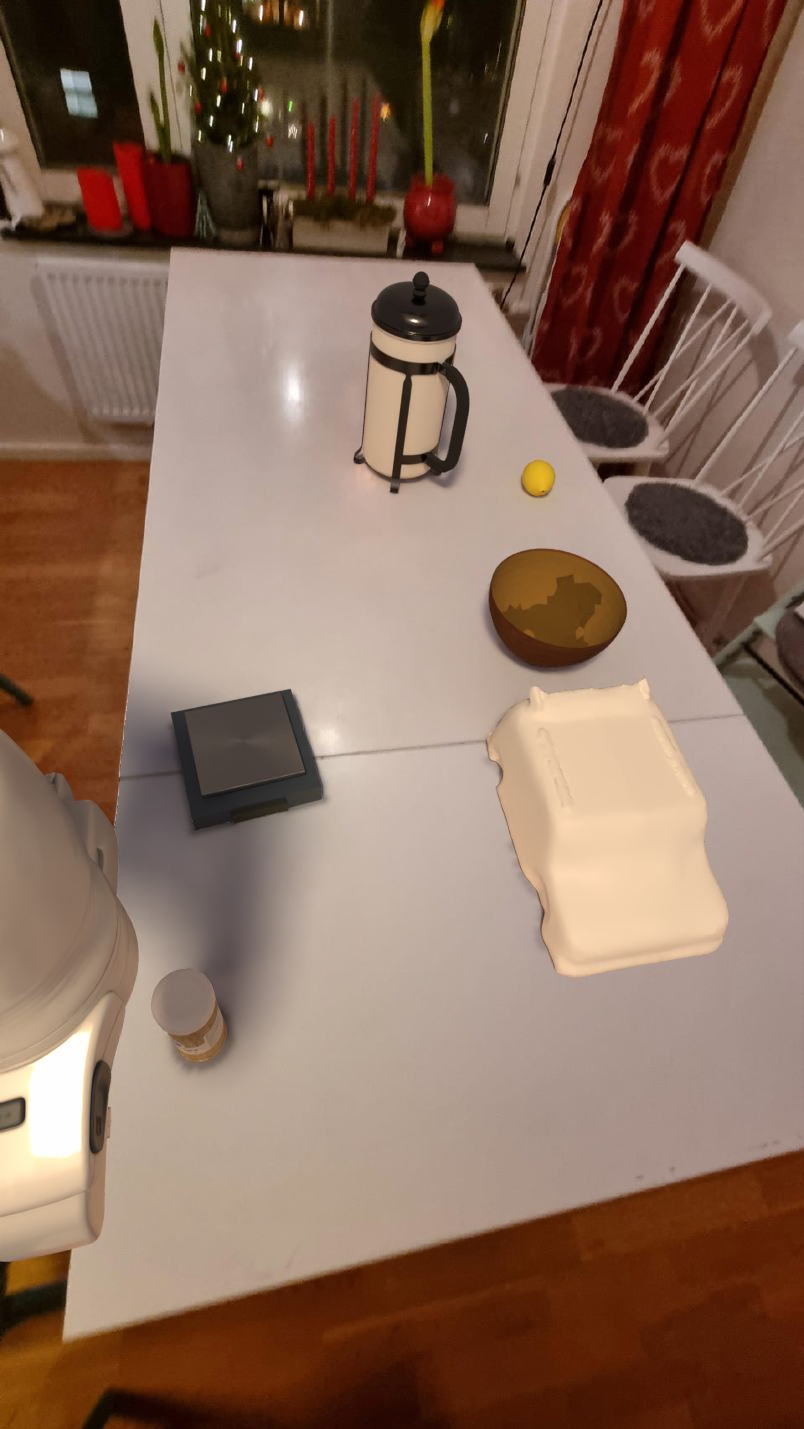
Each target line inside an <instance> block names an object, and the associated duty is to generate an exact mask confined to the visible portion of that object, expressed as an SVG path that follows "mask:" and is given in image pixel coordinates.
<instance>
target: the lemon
mask: <svg viewBox="0 0 804 1429" xmlns="http://www.w3.org/2000/svg"><path fill="white" fill-rule="evenodd" d="M521 477H522V478H521V479H522V485H523V487H524V489H525V491H526V492H528V493H529V494H530V495H532V496H536V497H539V496H545V495H546V494H547V493H549V492H550V491H551V490H552V488H553V487H554V485H555V481H556V472H555V469H554V467H553V466H552V465H551V464H550V463H549V462H547V461H545V460H542V459H535V460H531V461H530V462H529V463H527V465H526V466H524V468H523V471H522V475H521Z"/></svg>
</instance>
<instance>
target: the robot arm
mask: <svg viewBox="0 0 804 1429" xmlns="http://www.w3.org/2000/svg"><path fill="white" fill-rule="evenodd" d="M119 853H120V850H119V842H118V836H117V832H116V830H115V828H114V826H113V824H112V822H111V821H110V820H109V818H108V816H107V815H106V814H105V812H104V811H103V810H102V809H101V807H100V806H99V805H98V804H97V803H95V802H94V801H93V800H91V799H76V800H75V797H74V793H73V791H72V788H71V786H70V785H69V783H68V781H67V779H66V777H65V775H64V774H63V773H61V772H56V771H55V772H54V771H49V772H48V773H46V774H44V773H43V772H42V770H40V769H39V767H38V766H37V765H36V763H34V761H33V760H32V759H31V758H30V757H29V755H28V754H27V753H26V752H25V751H24V750H23V749H22V748H21V746H20V745H19V744H18V743H16V741H14V740H13V738H11V737H10V735H8V733H7V732H5V731H4V730H3V729H2V728H0V1262H5V1263H7V1262H8V1263H9V1262H17V1261H18V1262H19V1261H24V1260H29V1259H34V1258H39V1257H43V1256H48V1255H53V1254H58V1253H62V1252H65V1251H66V1252H67V1251H69V1250H74V1249H78V1248H81V1247H86V1246H90V1245H92V1244H94V1243H95V1242H96V1241H97V1240H98V1239H99V1238H100V1236H101V1233H102V1230H103V1225H104V1220H105V1207H106V1206H105V1199H106V1198H105V1196H106V1194H105V1193H106V1173H107V1172H106V1171H107V1145H108V1139H110V1138H111V1122H112V1119H111V1117H112V1107H111V1106H109V1098H110V1088H111V1083H112V1071H113V1070H112V1069H113V1065H114V1061H115V1056H116V1052H117V1049H118V1045H119V1042H120V1038H121V1036H122V1030H123V1026H124V1022H125V1018H126V1017H125V1016H126V1006H127V1005H128V1002H129V1000H130V998H131V996H132V993H133V990H134V987H135V984H136V981H137V976H138V972H139V961H140V960H139V959H140V958H139V957H140V955H139V954H140V951H139V949H140V948H139V941H138V937H137V933H136V932H137V931H136V928H135V926H134V924H133V922H132V919H131V918H130V915H129V914H128V912H127V911H126V909H125V907H124V905H123V903H122V902H121V900H120V898H119V897H118V882H119V881H118V880H119V860H120V859H119V858H120V854H119Z"/></svg>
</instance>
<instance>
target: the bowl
mask: <svg viewBox="0 0 804 1429" xmlns="http://www.w3.org/2000/svg"><path fill="white" fill-rule="evenodd" d="M627 605H628V604H627V601H626V597H625V595H624V592H623V591H622V589H621V587H620V586H619V584H618V583H617V581H615V579H614V578H613V577H612V576H611V575H610V574H609V573H608V572H607V571H606V570H605V569H603V567H600V566H599V565H598V564H596V563H594V562H593V561H591V560H589V559H588V558H586V557H583V556H581V555H578V554H576V553H572V552H569V551H565V550H563V549H562V550H561V549H555V548H530V549H525V550H521V551H520V550H519V552H515V553H513V554H510V555H509V556H507V557H505V558H504V559H503V560H502V561H501V562H500V563H499V564H498V565H497V566H496V568H495V569H494V572H493V574H492V576H491V579H490V583H489V589H488V609H489V614H490V619H491V622H492V624H493V627H494V629H495V631H496V634H497V635H498V638H499V639H500V640H501V642H502V643H503V644H504V646H505V647H506V648H507V649H508V650H509V651H510V652H511V653H513V655H515V656H516V657H517V658H519V659H520V660H522V661H524V662H526V663H528V664H531V665H533V666H537V667H541V668H547V669H548V668H549V669H550V668H555V669H556V668H565V667H570V666H574V665H578V664H581V663H584V662H586V661H588V660H590V659H593V658H594V657H596V656H598V655H599V654H601V653H602V652H603V651H604V650H605V649H607V648H608V647H609V646H610V645H611V644H612V643H613V642H614V641H615V639H616V638H617V637H618V636H619V634H620V632H621V631H622V629H623V627H624V626H625V623H626V621H627V617H628V606H627Z"/></svg>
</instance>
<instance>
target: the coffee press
mask: <svg viewBox="0 0 804 1429" xmlns="http://www.w3.org/2000/svg"><path fill="white" fill-rule="evenodd" d="M429 277H430V276H429V275H428V273H427V272H425V271H422V270H421V271H417V272H416V273H415V274H414V276H413V278H412V281H411V280H409V281H408V280H407V281H399V282H395V283H392V284H389V285H388V286H386V287H384V288H383V289H382V290H381V291H380V292H379V293H378V294H377V297H376V299H374V301H373V302H372V303H371V306H370V316H371V319H372V329H371V331H370V335H369V348H368V359H367V371H366V384H365V397H364V412H363V421H362V422H363V424H362V433H361V434H362V437H361V445H360V447H359V448H358V449H357V450H356V451H355V452H354V455H353V463H355V464H357V465H360V464H362V463H364V462H366V463H367V464H368V465H369V467H370V468H371V469H372V470H374V471H376V472H377V473H379V474H381V475H382V476H385V477H388V478H390V487H389V493H393V494H399V488H400V487H399V486H400V480H410V479H415V478H418V477H421V476H423V475H424V474H427V473H428V472H430V473H431V474H433V475H434V476H436V477H438V476H439V477H440V476H441V475H442V474H444V473H445V474H446V473H448V472H451V471H453V469H455V468H456V466H457V465H458V463H459V460H460V457H461V453H462V449H463V446H464V445H463V444H464V440H465V435H466V431H467V426H468V420H469V414H470V407H471V406H470V403H471V402H470V401H471V399H470V391H469V387H468V384H467V381H466V379H465V377H464V376H463V374H462V373H461V372H460V371H459V369H458V368H457V367H456V366H454V364H455V357H456V351H457V337H458V333H459V332H460V331H461V330H462V325H463V316H462V314H461V313H460V308H459V306H458V303H457V301H456V300H455V298H454V297H453V296H452V295H451V294H450V293H448V292H447V291H446V290H444V289H442V288H441V287H439V286H436V285H433V284H431V281H430V278H429ZM450 385H451V386H452V388H453V390H454V394H455V401H456V405H455V412H454V418H453V422H452V423H453V424H452V428H451V433H450V439H449V443H448V450H447V454H446V457H445V459H444V460H443V459H441V458H440V457H438V454H439V447H440V442H441V436H442V431H443V427H444V426H443V425H444V419H445V414H446V409H447V403H448V397H449V393H450V392H449V391H450ZM361 452H362V454H363V456H362V457H361V458H357V456H358V455H359V454H360V453H361Z"/></svg>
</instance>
